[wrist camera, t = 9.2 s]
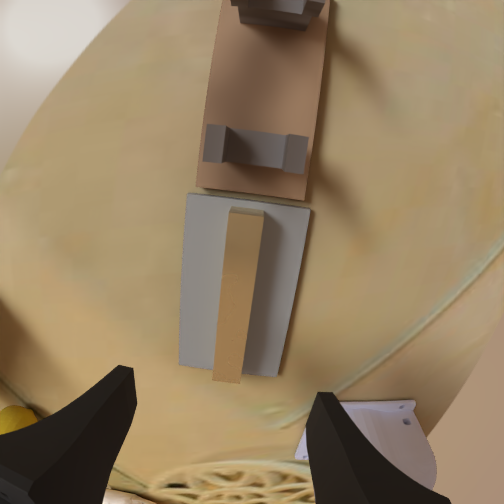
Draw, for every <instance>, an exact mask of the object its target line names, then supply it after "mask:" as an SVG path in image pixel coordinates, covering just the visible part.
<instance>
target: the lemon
mask: <svg viewBox="0 0 504 504" xmlns="http://www.w3.org/2000/svg"><path fill="white" fill-rule="evenodd" d="M36 422H38V420H37V418H36V417H35V415H34V412H33V411H32V410H31V409H26V408H24V407H21V406H15V405H13V406H8V407H6V408H4V409H2V410H1V411H0V435H1V434H5V433H9V432H12V431H15V430H18V429H21V428H24V427H27V426H29V425H31V424H34V423H36Z"/></svg>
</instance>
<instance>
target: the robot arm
mask: <svg viewBox="0 0 504 504" xmlns="http://www.w3.org/2000/svg"><path fill="white" fill-rule="evenodd" d="M136 406H137V397H136V389H135V380H134V371H133V368H131V367H126V366H122V365H118V366H117V367H115V368H114V369H113V370H112V371H111V372H110V373H108V374H107V375H106V376H105V377H104V378H103V379H101V380H100V381H99V382H98V383H97V384H95V385H94V386H93V387H92V388H90V389H89V390H88V391H87V392H85V393H84V394H83V395H81V396H80V397H79V398H77V399H76V400H74V401H73V402H71V403H70V404H69V405H67V406H66V407H64V408H62V409H61V410H59V411H58V412H56V413H54V414H52V415H51V416H49V417H47V418H45V419H43V420H40V421H38V422H36V423H34V424H31V425H29V426H27V427H24V428H21V429H18V430H15V431H12V432H9V433H5V434H1V435H0V504H102V503H103V499H104V495H105V491H106V487H107V483H108V480H109V476H110V473H111V470H112V468H113V465H114V462H115V460H116V458H117V456H118V453H119V451H120V449H121V447H122V444H123V442H124V440H125V437H126V435H127V433H128V431H129V428H130V426H131V423H132V420H133V417H134V413H135V410H136ZM415 406H416V402H415V400H399V401H373V402H339V401H338V399H337V398H336V396H335V395H334V394H333V392H318V393H317V396H316V398H315V401H314V404H313V407H312V410H311V412H310V415H309V418H308V420H307V423H306V427H305V430H304V432H303V435H302V438H301V440H300V443H299V445H298V448H297V450H296V452H295V458H296V459H299V460H309V464H310V469H311V475H312V481H313V487H314V495H315V503H316V504H451V502H450V500H449V498H447V497H445V496H442V495H440V494H438V493H436V492H434V491H432V489H433V487H434V484H435V481H436V474H437V470H436V469H437V468H436V461H435V456H434V454H433V452H432V450H431V447H430V445H429V443H428V441H427V439H426V436H425V434H424V432H423V430H422V428H421V426H420V424H419V422H418V420H417V418H416V416H415V413H414V411H413V410H414V408H415Z"/></svg>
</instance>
